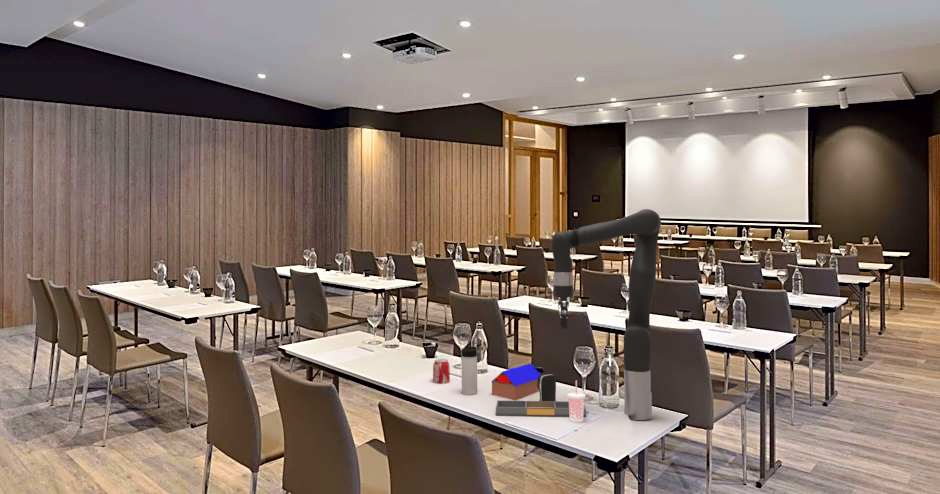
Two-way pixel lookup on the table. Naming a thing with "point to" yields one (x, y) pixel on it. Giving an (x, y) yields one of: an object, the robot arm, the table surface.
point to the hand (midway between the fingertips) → (563, 327)
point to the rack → (534, 408)
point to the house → (516, 382)
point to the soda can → (441, 371)
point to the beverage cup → (576, 406)
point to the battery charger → (547, 387)
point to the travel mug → (469, 371)
